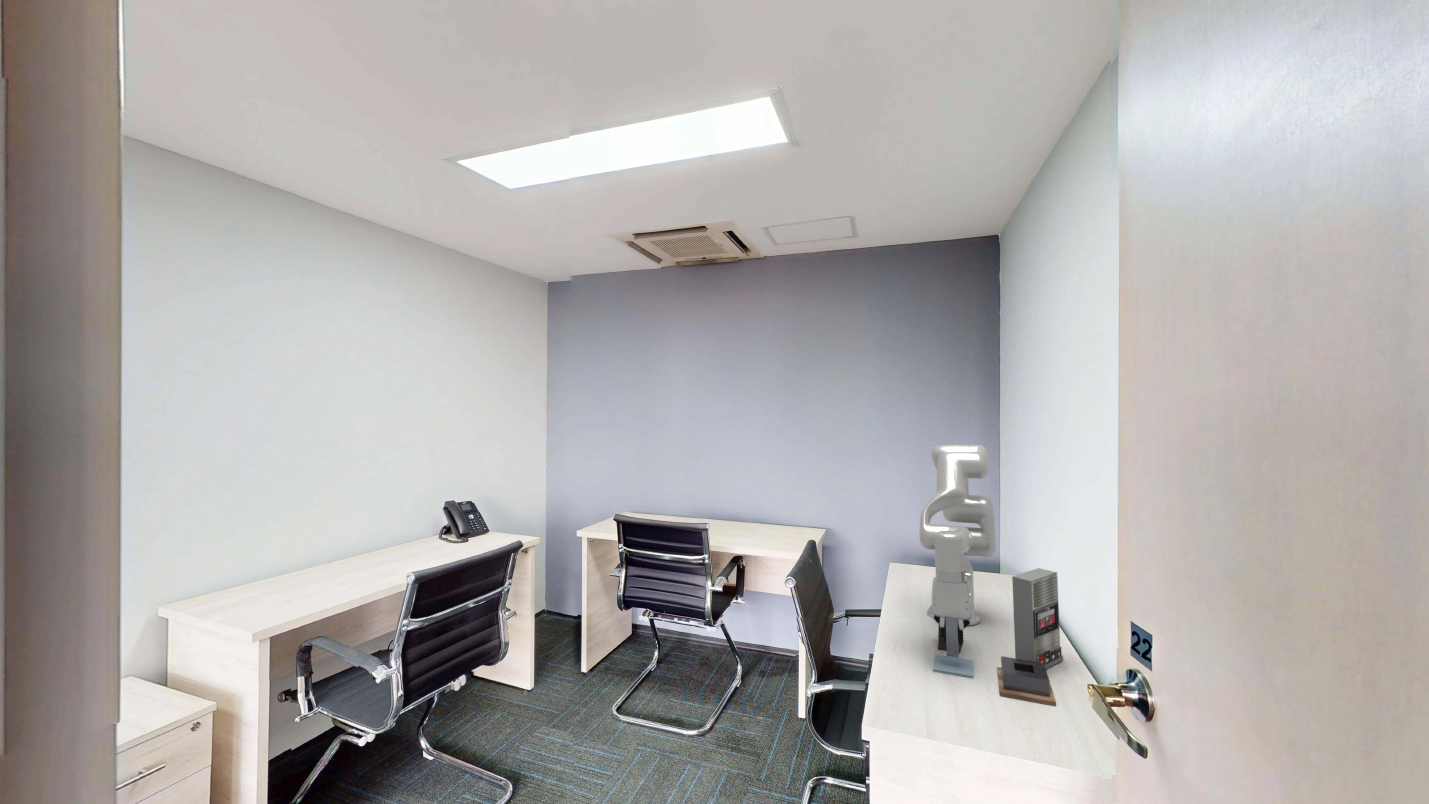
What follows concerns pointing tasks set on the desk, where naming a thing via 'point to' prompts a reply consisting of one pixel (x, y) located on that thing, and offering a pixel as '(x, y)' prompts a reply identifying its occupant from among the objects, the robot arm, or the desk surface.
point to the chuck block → (1025, 676)
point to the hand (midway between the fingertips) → (952, 640)
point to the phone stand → (942, 644)
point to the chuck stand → (1023, 695)
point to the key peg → (952, 637)
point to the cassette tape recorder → (1037, 617)
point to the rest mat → (953, 665)
